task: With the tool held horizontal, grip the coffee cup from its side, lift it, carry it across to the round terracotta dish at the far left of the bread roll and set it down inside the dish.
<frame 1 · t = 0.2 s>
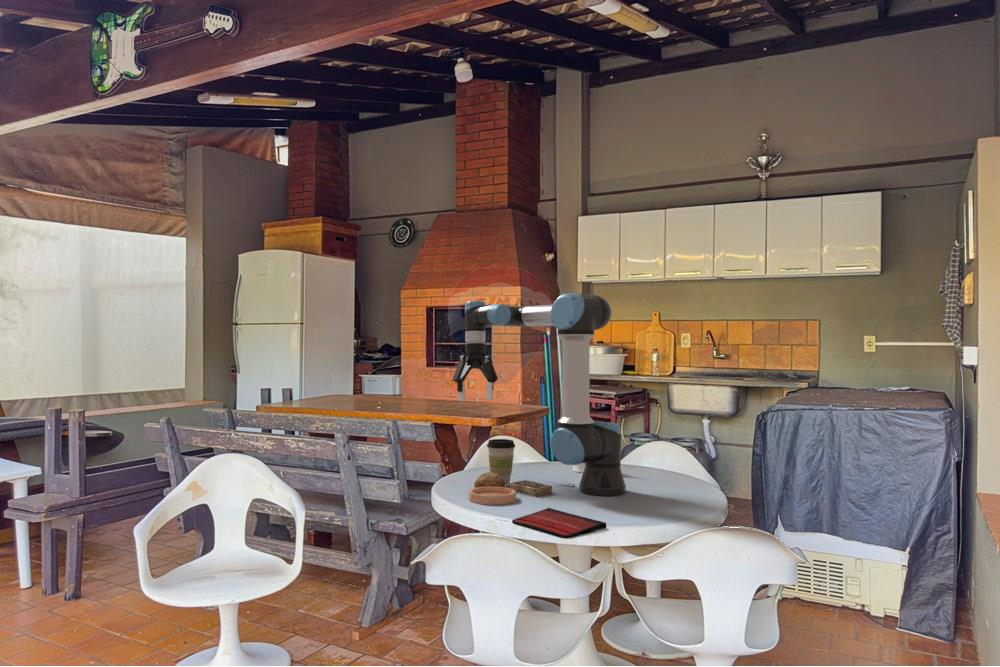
hand: (475, 400, 255), 27 cm above the table, tool pointing down, fingers open, 13 cm apart
pebble tray: (530, 491, 226), on the table
binder: (557, 528, 185), on the table
coffee cup: (500, 485, 238), on the table
bread roll: (488, 491, 227), on the table
paint can: (583, 471, 266), on the table
dish: (492, 499, 215), on the table
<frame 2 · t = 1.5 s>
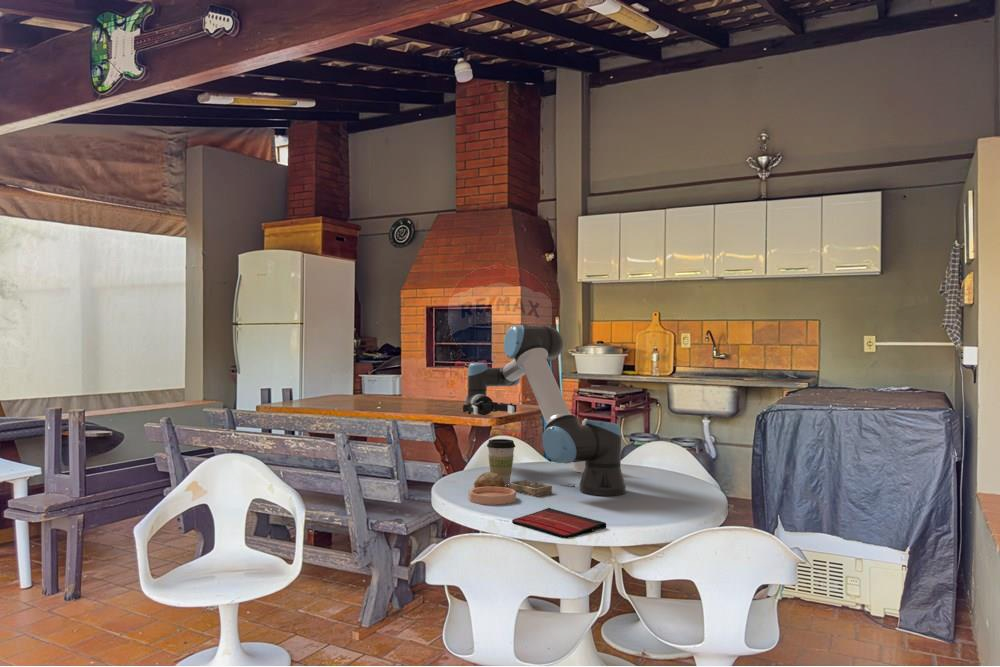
hand: (494, 410, 248), 24 cm above the table, tool horizontal, fingers open, 13 cm apart
nothing on the table moved.
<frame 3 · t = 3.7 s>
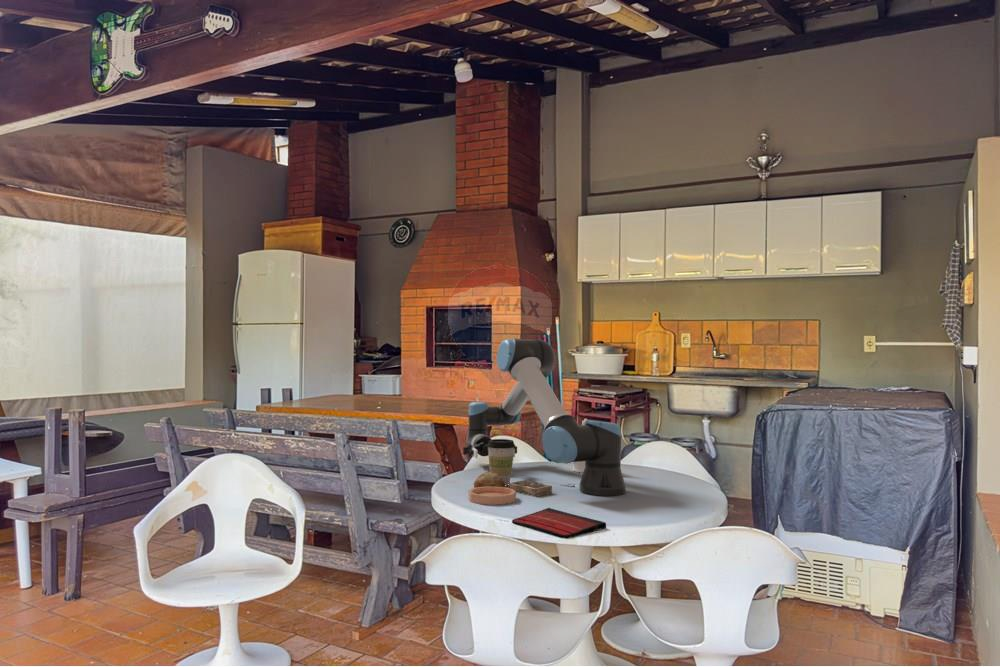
hand: (495, 453, 246), 9 cm above the table, tool horizontal, fingers open, 13 cm apart
nothing on the table moved.
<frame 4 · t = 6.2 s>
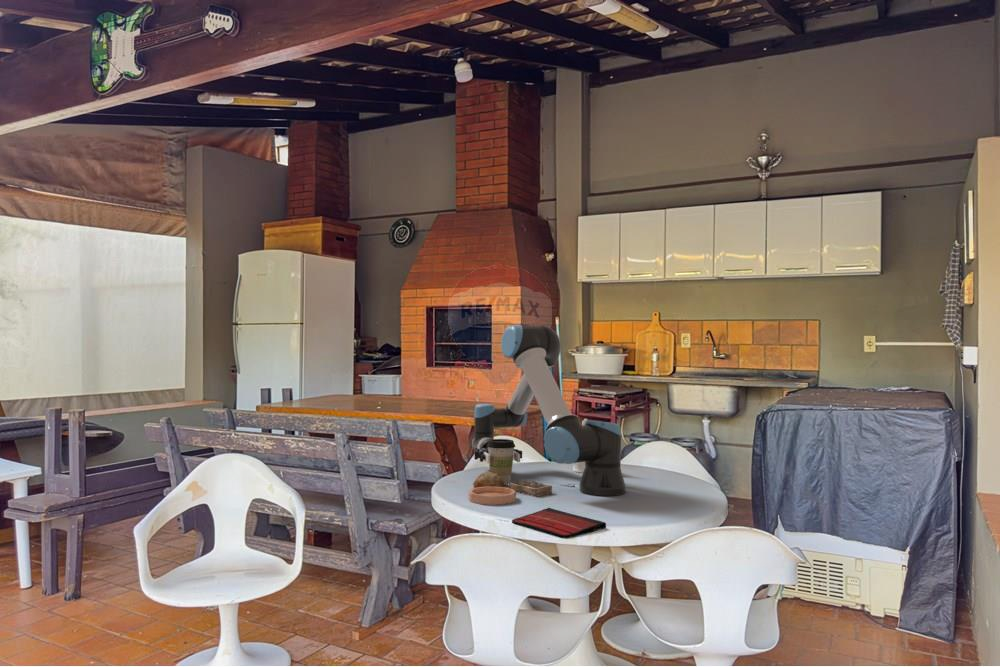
hand: (503, 458, 234), 10 cm above the table, tool horizontal, fingers closed on coffee cup, 10 cm apart
coffee cup: (500, 484, 238), on the table, touching gripper
everything else where it was.
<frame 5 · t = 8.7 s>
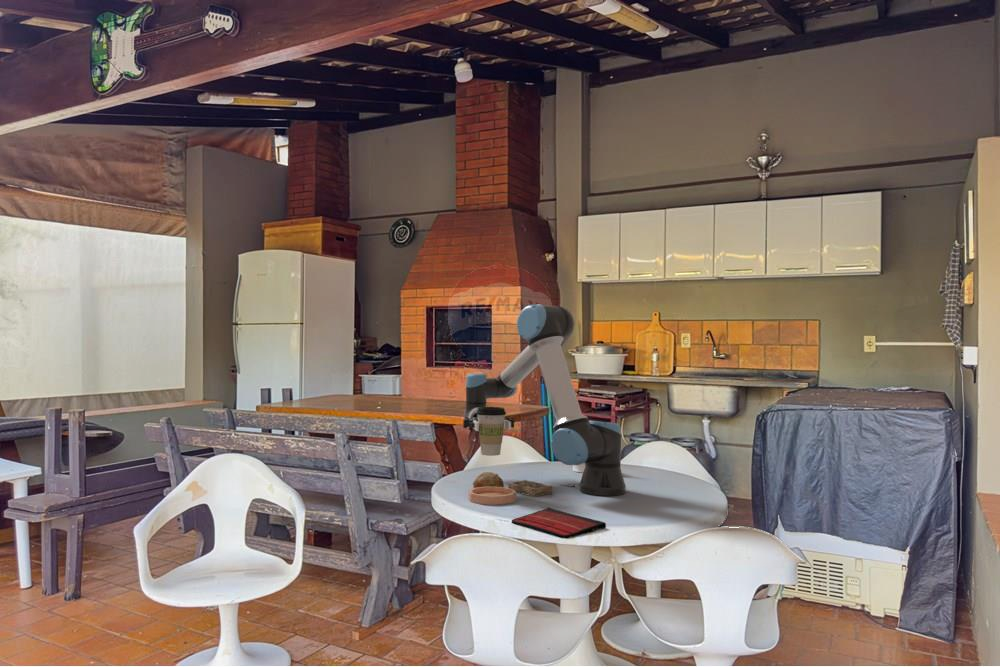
hand: (493, 426, 221), 22 cm above the table, tool horizontal, fingers closed on coffee cup, 10 cm apart
coffee cup: (490, 454, 225), point 12 cm above the table, touching gripper
everything else where it was.
when the fingers open (13 cm above the table, at t = 11.6 s): coffee cup drops 2 cm, resting on dish.
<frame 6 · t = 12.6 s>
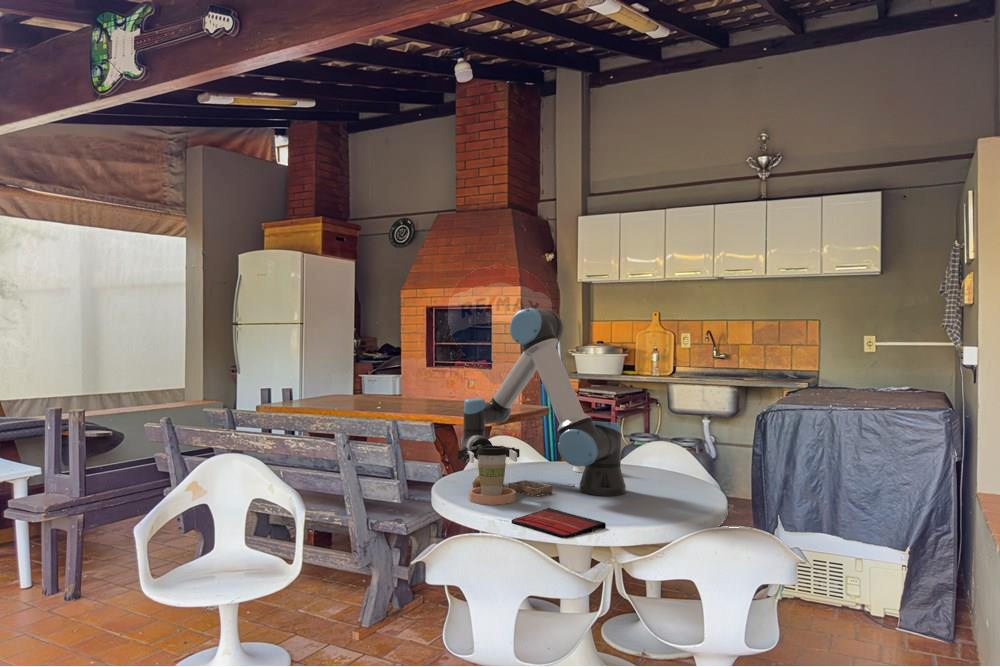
hand: (494, 457, 212), 13 cm above the table, tool horizontal, fingers open, 13 cm apart
coffee cup: (491, 496, 215), point 1 cm above the table, touching dish
everything else where it was.
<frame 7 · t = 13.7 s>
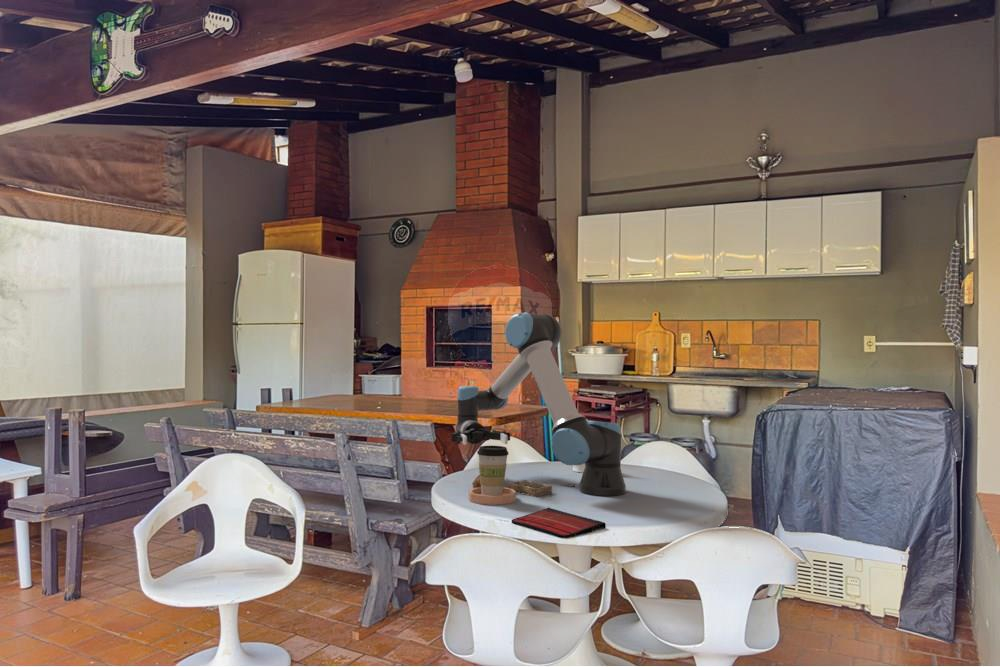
hand: (486, 440, 224), 17 cm above the table, tool horizontal, fingers open, 13 cm apart
nothing on the table moved.
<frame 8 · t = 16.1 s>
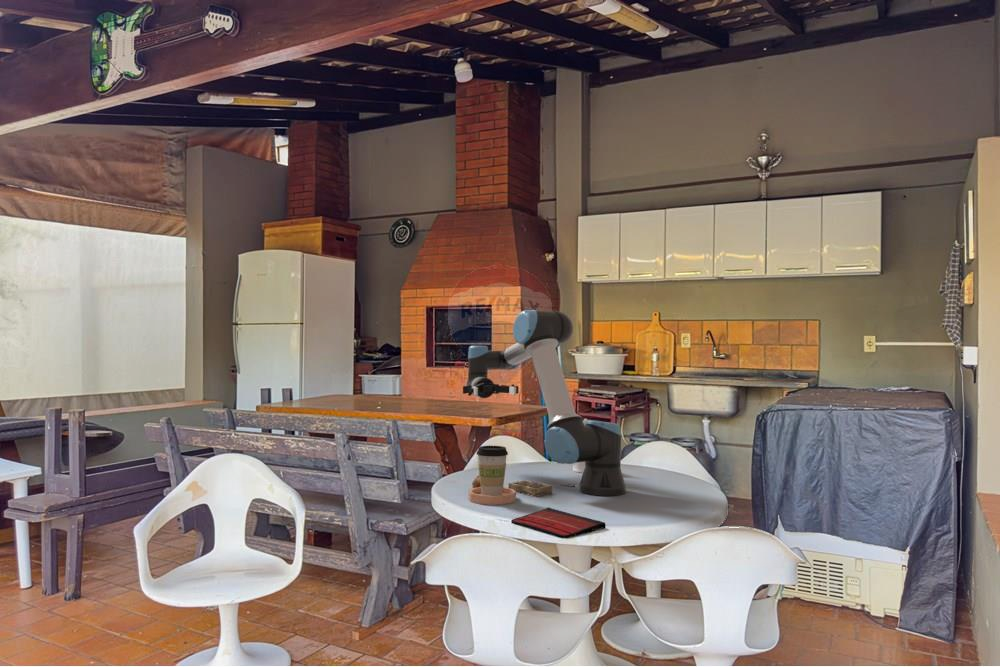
hand: (496, 391, 238), 32 cm above the table, tool horizontal, fingers open, 13 cm apart
nothing on the table moved.
at the end: coffee cup inside the target area on the dish (0.1 cm from its centre), point 0.8 cm above the dish's base; coffee cup tilted 0°; the gripper is holding nothing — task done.
